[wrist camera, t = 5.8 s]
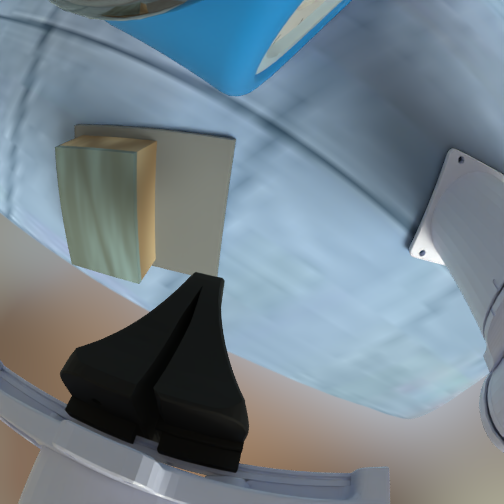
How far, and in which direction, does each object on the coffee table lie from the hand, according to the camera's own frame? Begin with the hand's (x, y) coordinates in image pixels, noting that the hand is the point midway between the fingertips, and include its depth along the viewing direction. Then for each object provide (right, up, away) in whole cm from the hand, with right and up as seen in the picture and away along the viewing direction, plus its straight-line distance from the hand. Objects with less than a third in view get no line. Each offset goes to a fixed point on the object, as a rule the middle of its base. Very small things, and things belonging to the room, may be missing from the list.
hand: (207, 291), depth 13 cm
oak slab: (-5, +4, +5) cm, 8 cm away
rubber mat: (-5, +5, +6) cm, 10 cm away
